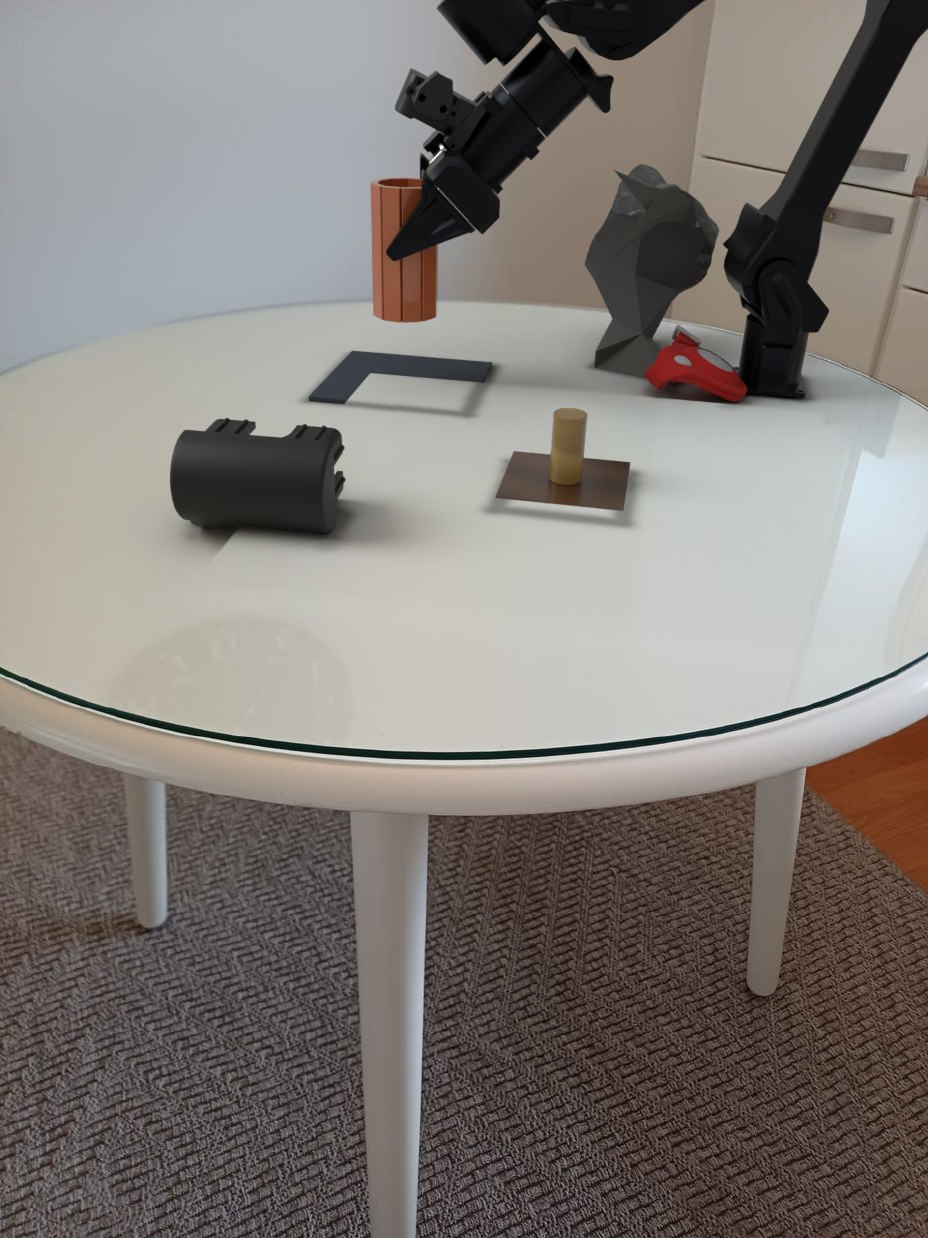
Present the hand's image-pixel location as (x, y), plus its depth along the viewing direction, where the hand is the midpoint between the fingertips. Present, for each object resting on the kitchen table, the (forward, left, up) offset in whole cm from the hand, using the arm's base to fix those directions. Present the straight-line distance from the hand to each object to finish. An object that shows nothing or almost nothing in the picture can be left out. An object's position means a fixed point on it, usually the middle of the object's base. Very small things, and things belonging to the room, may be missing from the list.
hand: (389, 248), depth 94 cm
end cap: (+32, -1, -12) cm, 34 cm away
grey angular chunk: (-16, +22, -12) cm, 30 cm away
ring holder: (+21, +18, -12) cm, 30 cm away
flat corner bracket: (0, +1, -12) cm, 12 cm away
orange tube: (0, +1, -6) cm, 6 cm away
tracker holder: (-6, +27, -12) cm, 31 cm away
